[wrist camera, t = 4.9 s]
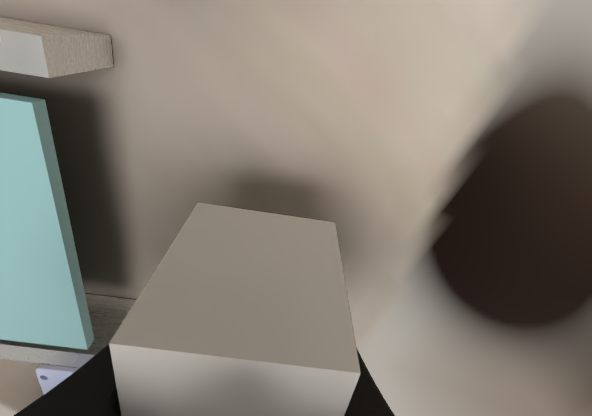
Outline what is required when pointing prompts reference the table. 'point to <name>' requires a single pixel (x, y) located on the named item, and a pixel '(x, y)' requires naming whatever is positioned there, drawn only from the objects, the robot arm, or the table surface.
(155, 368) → the stone block
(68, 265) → the trapdoor
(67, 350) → the frame
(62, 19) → the table surface
